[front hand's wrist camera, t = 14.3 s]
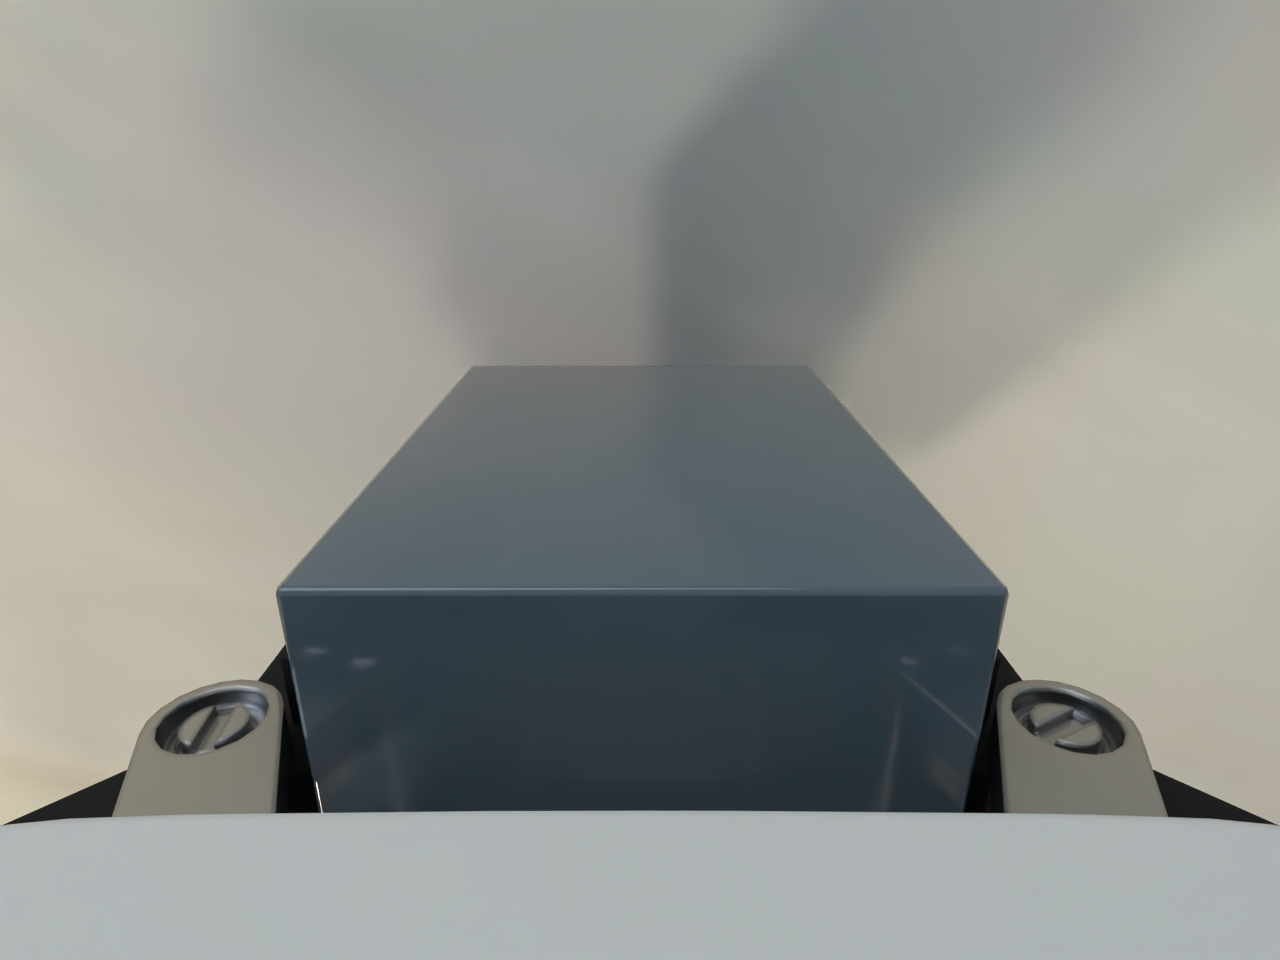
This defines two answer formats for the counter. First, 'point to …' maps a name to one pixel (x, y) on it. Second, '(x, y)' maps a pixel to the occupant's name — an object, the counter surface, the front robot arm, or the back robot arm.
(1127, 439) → the counter surface
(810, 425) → the brick
